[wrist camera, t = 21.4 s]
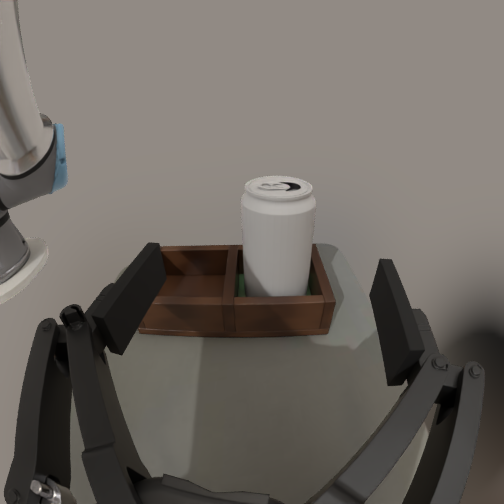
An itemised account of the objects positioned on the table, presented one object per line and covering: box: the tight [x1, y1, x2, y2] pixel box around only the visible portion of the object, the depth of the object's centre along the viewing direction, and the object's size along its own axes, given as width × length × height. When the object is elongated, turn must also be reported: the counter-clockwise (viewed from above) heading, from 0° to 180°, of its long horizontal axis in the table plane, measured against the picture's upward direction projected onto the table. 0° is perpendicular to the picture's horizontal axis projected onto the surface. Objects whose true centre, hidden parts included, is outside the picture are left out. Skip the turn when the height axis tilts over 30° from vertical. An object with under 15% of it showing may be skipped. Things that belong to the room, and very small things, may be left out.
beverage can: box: [241, 176, 316, 297], centre depth 26 cm, size 6×6×12 cm
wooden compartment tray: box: [138, 244, 336, 337], centre depth 29 cm, size 19×10×4 cm, turn 90°
